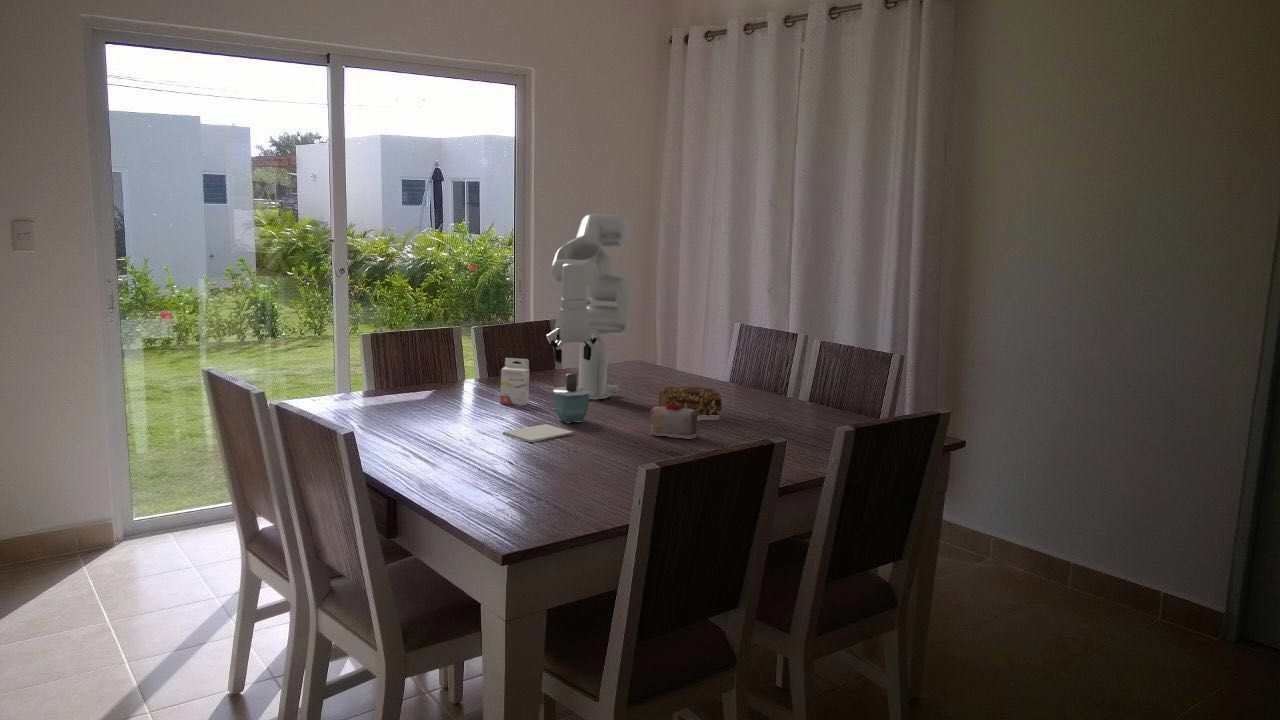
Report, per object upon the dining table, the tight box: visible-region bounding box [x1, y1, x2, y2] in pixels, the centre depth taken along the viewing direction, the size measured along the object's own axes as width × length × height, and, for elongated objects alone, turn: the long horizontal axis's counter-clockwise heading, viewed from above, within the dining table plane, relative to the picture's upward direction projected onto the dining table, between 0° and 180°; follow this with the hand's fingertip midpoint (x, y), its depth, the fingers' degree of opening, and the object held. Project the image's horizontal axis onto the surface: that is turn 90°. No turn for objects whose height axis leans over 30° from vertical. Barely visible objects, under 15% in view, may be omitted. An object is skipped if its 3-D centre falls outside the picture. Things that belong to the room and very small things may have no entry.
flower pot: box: [552, 392, 590, 423], centre depth 281 cm, size 9×9×9 cm
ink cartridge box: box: [499, 357, 530, 406], centre depth 303 cm, size 9×5×15 cm, turn 84°
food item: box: [650, 402, 698, 435], centre depth 268 cm, size 14×8×10 cm, turn 73°
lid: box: [552, 372, 589, 397], centre depth 280 cm, size 11×11×6 cm
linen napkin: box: [502, 423, 574, 443], centre depth 264 cm, size 16×12×1 cm
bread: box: [658, 386, 723, 416], centre depth 294 cm, size 19×11×10 cm, turn 97°
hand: (572, 360), depth 280 cm, fingers open, 9 cm apart
